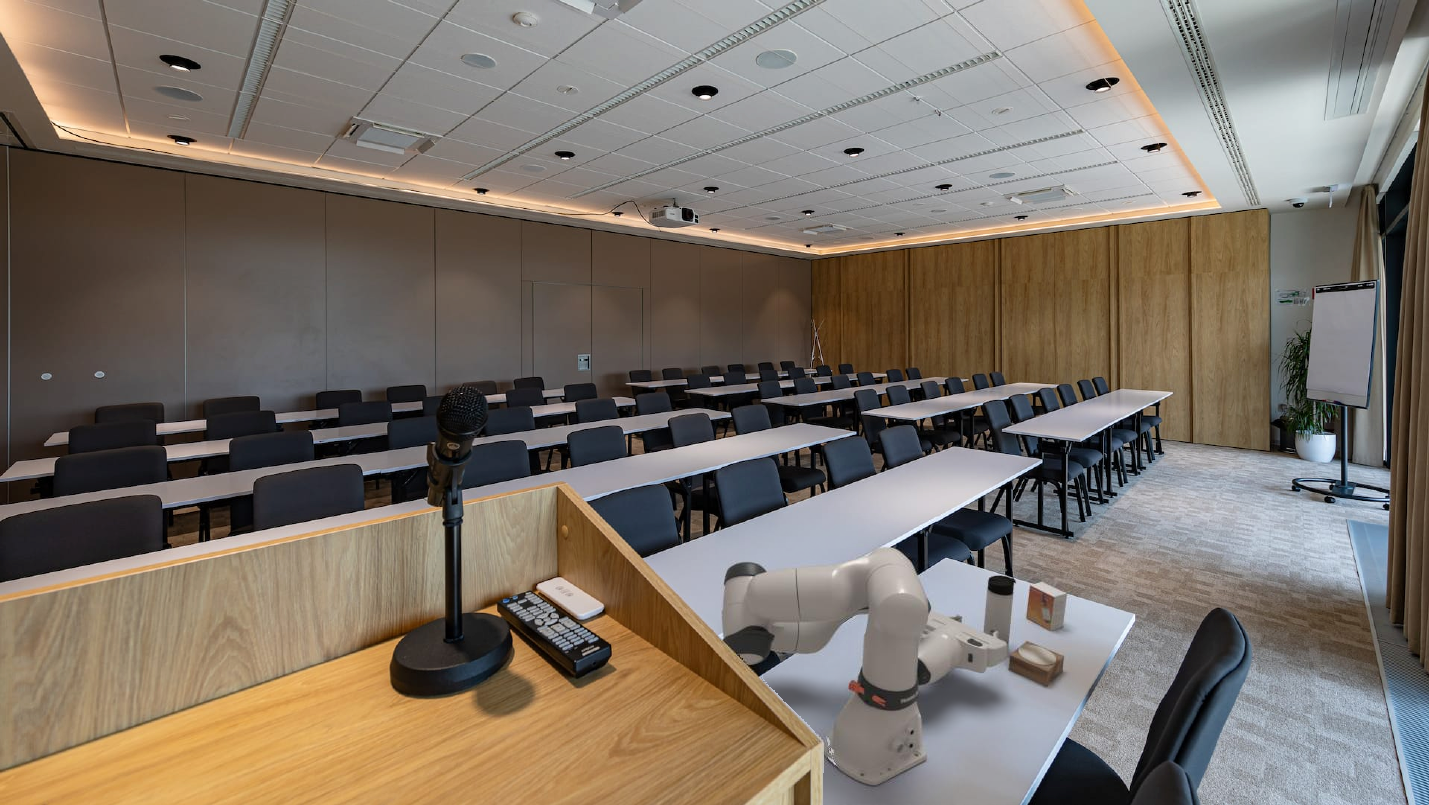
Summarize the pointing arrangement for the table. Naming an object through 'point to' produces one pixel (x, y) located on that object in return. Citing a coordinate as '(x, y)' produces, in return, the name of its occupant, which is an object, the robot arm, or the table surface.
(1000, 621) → the travel mug
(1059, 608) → the small box
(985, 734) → the table surface
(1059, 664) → the plinth
